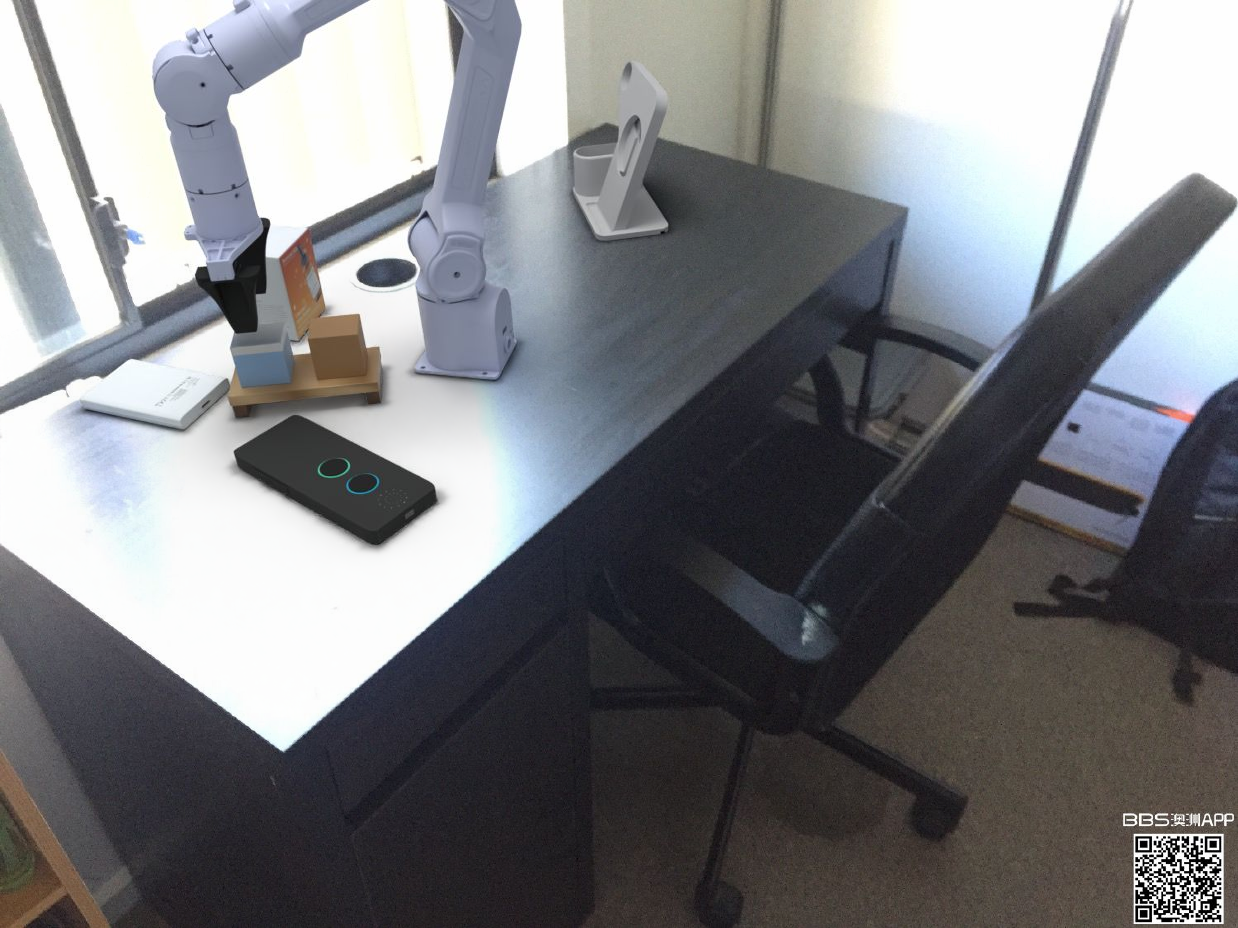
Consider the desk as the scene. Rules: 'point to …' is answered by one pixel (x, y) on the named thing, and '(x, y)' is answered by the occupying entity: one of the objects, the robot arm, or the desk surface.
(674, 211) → the desk surface
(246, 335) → the blue carton
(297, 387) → the wooden stand
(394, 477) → the smart home device
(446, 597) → the desk surface
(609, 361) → the desk surface
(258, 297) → the small box
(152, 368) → the hard drive
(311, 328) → the brown carton
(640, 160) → the phone holder
